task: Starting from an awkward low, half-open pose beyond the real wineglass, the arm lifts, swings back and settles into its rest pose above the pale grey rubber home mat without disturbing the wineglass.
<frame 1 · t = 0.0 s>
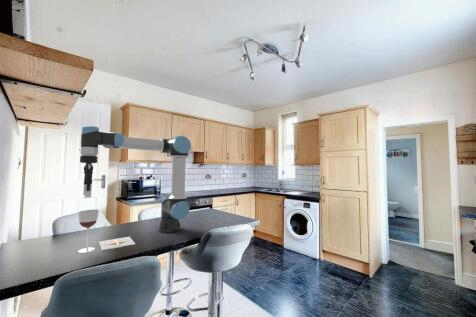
hand: (87, 196, 110), 28 cm above the breakfast bar, fingers open, 13 cm apart
wineglass: (86, 250, 110), on the breakfast bar
home mat: (116, 243, 121), on the breakfast bar
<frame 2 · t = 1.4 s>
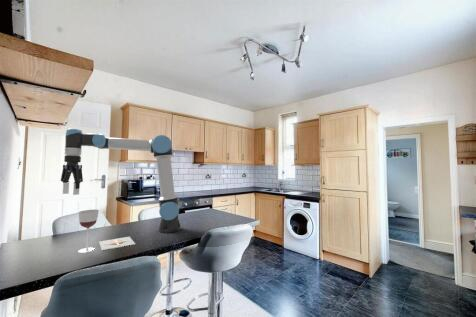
hand: (70, 194, 123), 27 cm above the breakfast bar, fingers open, 9 cm apart
nothing on the breakfast bar moved.
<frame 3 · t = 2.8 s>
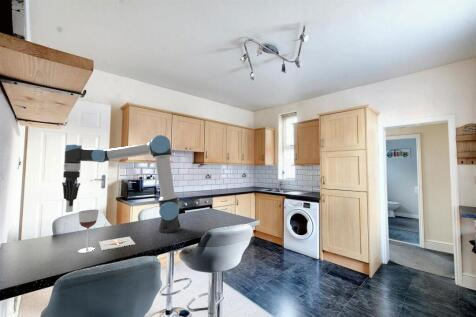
hand: (69, 211, 122), 17 cm above the breakfast bar, fingers closed
nothing on the breakfast bar moved.
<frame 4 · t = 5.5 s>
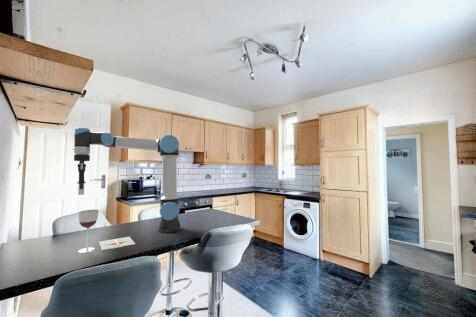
hand: (81, 194, 124), 27 cm above the breakfast bar, fingers closed
nothing on the breakfast bar moved.
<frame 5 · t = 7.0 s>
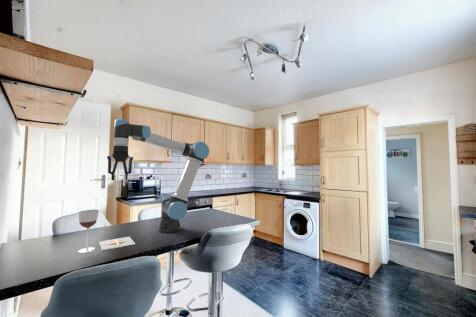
hand: (119, 185, 123), 33 cm above the breakfast bar, fingers open, 4 cm apart
nothing on the breakfast bar moved.
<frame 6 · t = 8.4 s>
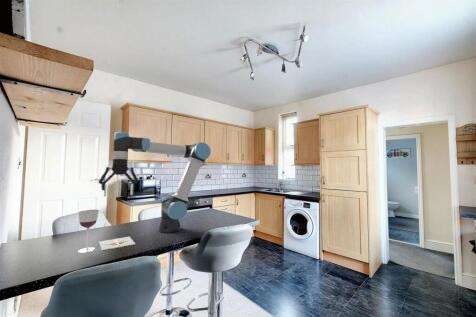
hand: (118, 195, 122), 27 cm above the breakfast bar, fingers open, 13 cm apart
nothing on the breakfast bar moved.
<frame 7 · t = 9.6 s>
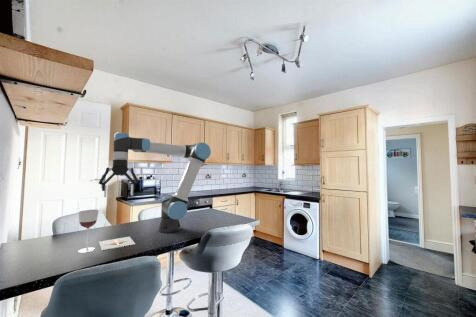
hand: (118, 196, 122), 27 cm above the breakfast bar, fingers open, 13 cm apart
nothing on the breakfast bar moved.
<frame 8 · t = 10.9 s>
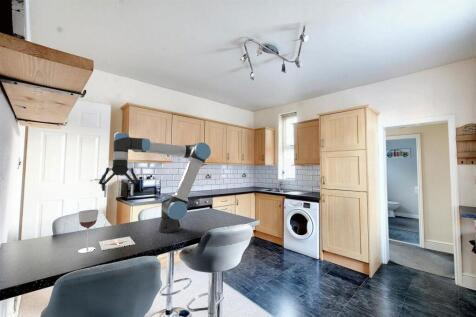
hand: (118, 196, 122), 27 cm above the breakfast bar, fingers open, 13 cm apart
nothing on the breakfast bar moved.
at the end: wineglass moved 0.2 cm from its start; wineglass tilted 0°; the gripper is holding nothing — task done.
